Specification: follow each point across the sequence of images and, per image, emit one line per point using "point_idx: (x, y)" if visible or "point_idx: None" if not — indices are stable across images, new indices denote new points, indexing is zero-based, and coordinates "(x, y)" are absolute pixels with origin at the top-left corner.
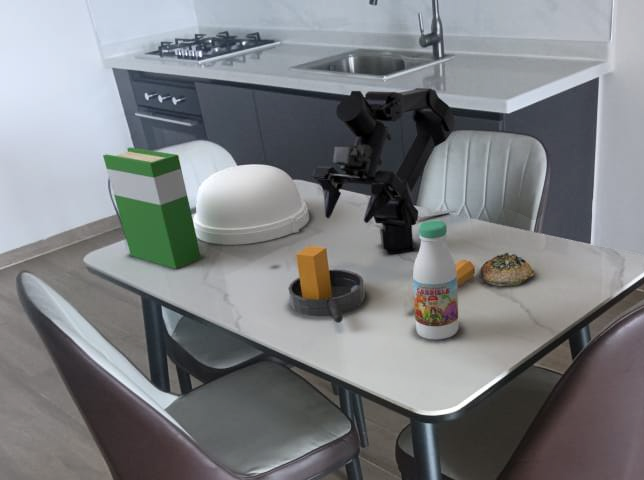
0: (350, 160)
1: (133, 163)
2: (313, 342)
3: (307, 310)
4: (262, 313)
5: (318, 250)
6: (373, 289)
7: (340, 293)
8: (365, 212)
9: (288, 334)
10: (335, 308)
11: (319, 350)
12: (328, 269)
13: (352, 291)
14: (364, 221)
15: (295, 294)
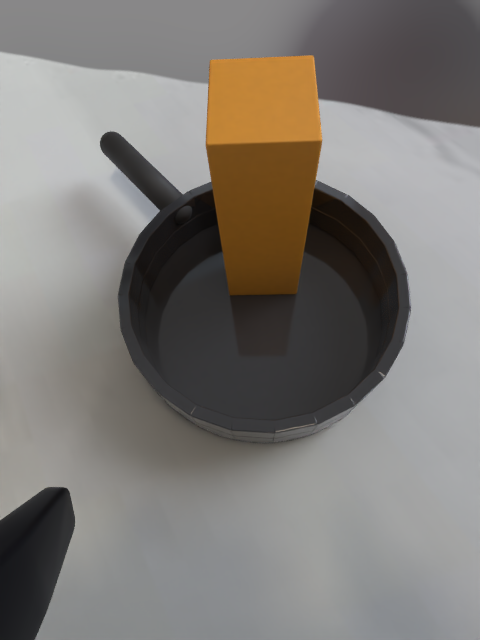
0: None
1: None
2: (169, 127)
3: None
4: (405, 191)
5: (228, 111)
6: (154, 461)
7: (246, 366)
8: (17, 541)
9: None
10: (132, 157)
11: (137, 108)
12: (217, 217)
13: (132, 265)
14: (67, 494)
15: (375, 276)
